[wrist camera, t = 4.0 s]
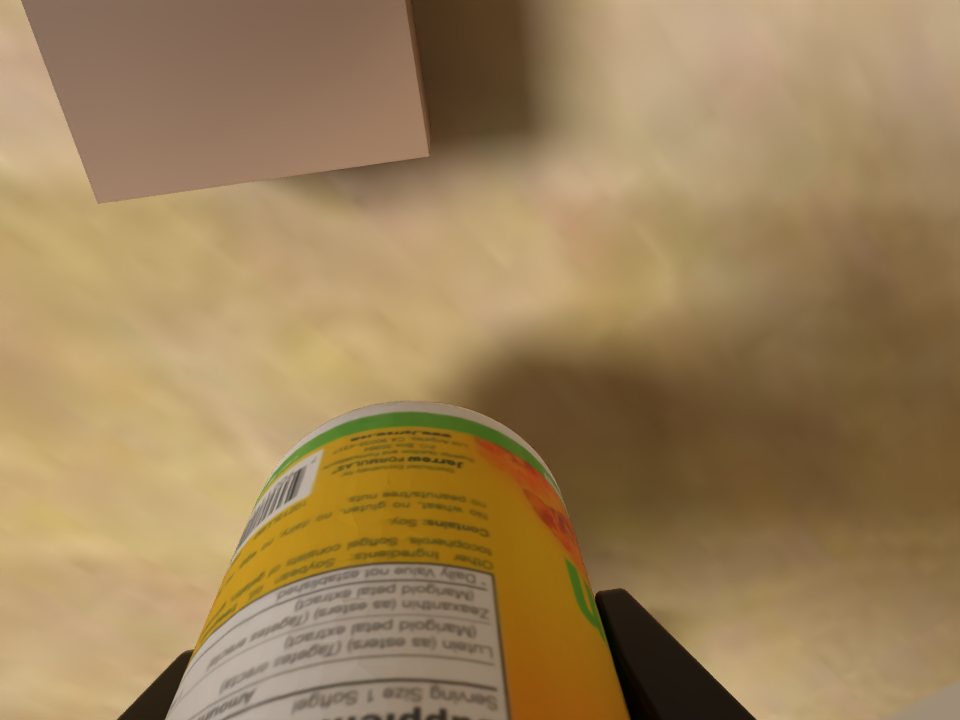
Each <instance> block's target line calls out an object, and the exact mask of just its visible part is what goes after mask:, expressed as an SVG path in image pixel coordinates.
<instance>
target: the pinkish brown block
mask: <svg viewBox="0 0 960 720" xmlns="http://www.w3.org/2000/svg"><path fill="white" fill-rule="evenodd" d="M21 1H22V4H23V7H24V9H25V12H26V15H27V17H28V20H29V23H30V25H31V28H32V31H33V33H34V36H35V38H36V41H37V44H38V46H39V49H40V52H41V54H42V57H43V60H44V62H45V65H46V68H47V70H48V73H49V76H50V78H51V81H52V84H53V86H54V89H55V92H56V94H57V97H58V99H59V102H60V105H61V107H62V110H63V113H64V115H65V118H66V121H67V123H68V126H69V129H70V131H71V134H72V137H73V139H74V142H75V145H76V147H77V150H78V153H79V155H80V158H81V160H82V163H83V166H84V168H85V171H86V174H87V176H88V179H89V182H90V184H91V187H92V190H93V192H94V195H95V198H96V200H97V203H98V204H100V203H107V202H114V201H121V200H128V199H135V198H142V197H149V196H156V195H163V194H170V193H177V192H184V191H191V190H198V189H205V188H212V187H219V186H226V185H233V184H240V183H247V182H254V181H261V180H268V179H275V178H282V177H289V176H296V175H303V174H310V173H317V172H324V171H331V170H338V169H345V168H352V167H359V166H366V165H373V164H380V163H387V162H394V161H401V160H408V159H415V158H422V157H429V153H430V138H431V127H430V120H429V114H428V107H427V100H426V94H425V87H424V81H423V74H422V68H421V61H420V54H419V48H418V41H417V35H416V28H415V22H414V15H413V8H412V2H411V0H21Z"/></svg>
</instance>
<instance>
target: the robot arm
mask: <svg viewBox="0 0 960 720" xmlns="http://www.w3.org/2000/svg"><path fill="white" fill-rule="evenodd" d="M595 602H596V606H597V609H598V612H599V615H600V618H601V622H602V625H603V628H604V632H605V635H606V638H607V642H608V645H609V648H610V651H611V655H612V658H613V661H614V665H615V668H616V671H617V674H618V678H619V681H620V684H621V688H622V691H623V694H624V697H625V701H626V704H627V707H628V710H629V714H630V717H631V720H756V719H755V718H754V717H753V716H752V715H751V714H750V713H749V712H748V711H747V710H746V709H745V708H744V707H743V706H742V705H741V704H740V703H739V702H738V701H737V700H736V699H735V698H734V697H733V696H732V695H731V694H730V693H729V692H728V691H727V690H726V689H725V688H724V687H723V686H722V685H721V684H720V683H719V682H718V681H717V680H716V679H715V678H714V677H713V676H712V675H711V674H710V673H709V672H708V671H707V670H706V669H705V668H704V667H703V666H702V665H701V664H700V663H699V662H698V661H697V660H696V659H695V658H694V657H693V656H692V655H691V654H690V653H689V652H688V651H687V650H686V649H685V648H684V647H683V646H682V645H681V644H680V643H679V642H678V641H677V640H676V639H675V638H674V637H673V636H672V635H671V634H670V633H668V632H667V631H666V630H665V629H664V628H663V627H662V626H661V625H660V624H659V623H658V622H657V621H656V620H655V619H654V618H653V617H652V616H651V615H650V614H649V613H648V612H647V611H646V610H645V609H644V608H643V607H642V606H641V605H640V604H639V603H638V602H637V601H636V600H635V599H634V598H633V597H632V596H631V595H630V594H629V593H628V592H627V591H626V590H624V589H621V588H619V589H612V590H605V591H599V592H598V593H597V594H596V596H595ZM193 651H194V649H193V650H187V651H185V652H183V653H182V654H181V655H179V656H178V657H177V658H176V659H175V660H174V661H173V663H172V664H171V665H170V666H169V667H168V668H167V669H166V670H165V671H164V672H163V673H162V674H161V675H160V676H159V677H158V678H157V679H156V680H155V681H154V682H153V683H152V684H151V685H150V686H149V687H148V688H147V689H146V690H145V691H144V692H143V693H142V694H141V695H140V696H139V697H138V698H137V700H136V701H135V702H134V703H133V704H132V705H131V706H130V707H129V708H128V709H127V710H126V711H125V712H124V713H123V714H122V715H121V716H120V717H119V718H118V719H117V720H165V719H166V716H167V714H168V712H169V709H170V707H171V704H172V702H173V700H174V697H175V695H176V693H177V690H178V688H179V685H180V683H181V680H182V678H183V675H184V673H185V670H186V668H187V666H188V663H189V661H190V658H191V656H192V654H193Z"/></svg>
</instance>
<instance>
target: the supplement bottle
mask: <svg viewBox="0 0 960 720" xmlns="http://www.w3.org/2000/svg"><path fill="white" fill-rule="evenodd" d="M165 720H631V717H630V714H629V710H628V707H627V704H626V701H625V697H624V694H623V691H622V688H621V684H620V681H619V678H618V674H617V671H616V668H615V665H614V661H613V658H612V655H611V651H610V648H609V645H608V642H607V638H606V635H605V632H604V628H603V625H602V622H601V618H600V615H599V612H598V609H597V606H596V602H595V599H594V596H593V593H592V589H591V586H590V583H589V579H588V576H587V572H586V569H585V566H584V563H583V560H582V556H581V553H580V550H579V547H578V544H577V540H576V537H575V534H574V531H573V527H572V524H571V520H570V517H569V514H568V511H567V508H566V505H565V502H564V500H563V498H562V495H561V492H560V489H559V487H558V485H557V483H556V481H555V479H554V477H553V475H552V473H551V472H550V470H549V468H548V467H547V465H546V464H545V462H544V461H543V460H542V458H541V457H540V456H539V455H538V454H537V452H536V451H535V450H534V449H533V448H532V447H531V446H530V445H529V444H528V443H527V442H526V441H524V440H523V439H522V438H521V437H520V436H519V435H517V434H516V433H515V432H513V431H512V430H511V429H509V428H508V427H506V426H505V425H503V424H501V423H499V422H497V421H495V420H494V419H492V418H490V417H487V416H485V415H483V414H481V413H478V412H476V411H473V410H470V409H467V408H463V407H459V406H456V405H450V404H445V403H439V402H429V401H394V402H387V403H381V404H375V405H371V406H367V407H363V408H359V409H356V410H353V411H350V412H348V413H345V414H343V415H341V416H338V417H336V418H334V419H332V420H330V421H328V422H327V423H325V424H323V425H322V426H320V427H318V428H317V429H315V430H314V431H312V432H311V433H309V434H308V435H307V436H305V437H304V438H303V439H302V440H300V441H299V442H298V443H297V444H296V445H295V446H294V447H293V448H292V449H291V450H290V451H289V452H288V453H287V454H286V455H285V456H284V457H283V458H282V460H281V461H280V462H279V463H278V465H277V466H276V468H275V469H274V471H273V472H272V474H271V476H270V477H269V479H268V481H267V482H266V484H265V486H264V489H263V491H262V492H261V494H260V496H259V498H258V500H257V502H256V504H255V506H254V509H253V511H252V513H251V516H250V518H249V520H248V523H247V525H246V527H245V530H244V532H243V535H242V537H241V539H240V541H239V544H238V546H237V548H236V551H235V553H234V556H233V558H232V560H231V563H230V565H229V567H228V570H227V573H226V575H225V577H224V579H223V582H222V584H221V586H220V589H219V591H218V594H217V596H216V599H215V601H214V603H213V606H212V608H211V611H210V613H209V615H208V618H207V620H206V623H205V625H204V627H203V630H202V632H201V635H200V637H199V639H198V642H197V644H196V647H195V649H194V651H193V654H192V656H191V658H190V661H189V663H188V666H187V668H186V670H185V673H184V675H183V678H182V680H181V683H180V685H179V688H178V690H177V693H176V695H175V697H174V700H173V702H172V704H171V707H170V709H169V712H168V714H167V716H166V719H165Z"/></svg>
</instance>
